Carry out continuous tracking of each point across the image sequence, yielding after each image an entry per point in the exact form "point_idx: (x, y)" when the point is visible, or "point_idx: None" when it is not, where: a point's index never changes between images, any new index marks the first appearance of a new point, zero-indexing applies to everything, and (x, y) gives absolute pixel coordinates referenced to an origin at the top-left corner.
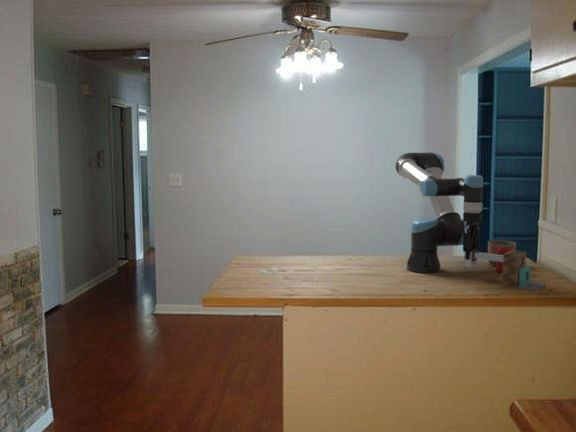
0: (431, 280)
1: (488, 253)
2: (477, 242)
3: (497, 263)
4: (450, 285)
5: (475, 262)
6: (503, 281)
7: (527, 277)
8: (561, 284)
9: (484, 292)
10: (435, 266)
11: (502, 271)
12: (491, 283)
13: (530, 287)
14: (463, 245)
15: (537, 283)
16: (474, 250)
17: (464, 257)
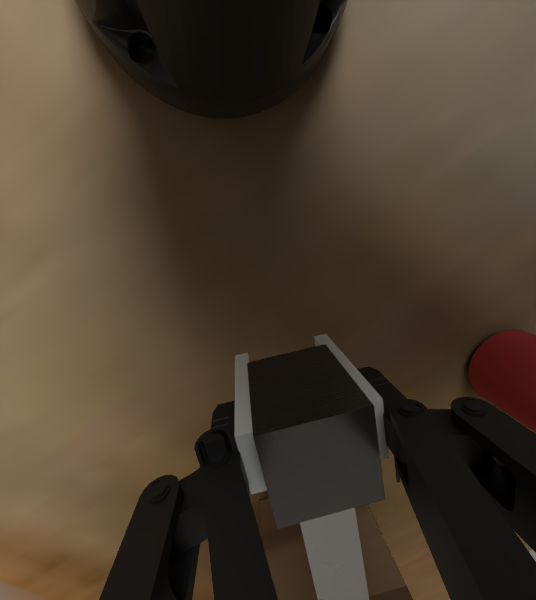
0: (9, 244)
1: (355, 566)
2: (508, 514)
3: (515, 374)
4: (29, 385)
5: None
6: (261, 521)
7: None
8: (433, 585)
9: (80, 537)
10: (199, 92)
11: (472, 383)
12: None
13: None
14: (113, 572)
15: None
16: (294, 514)
17: (248, 375)
